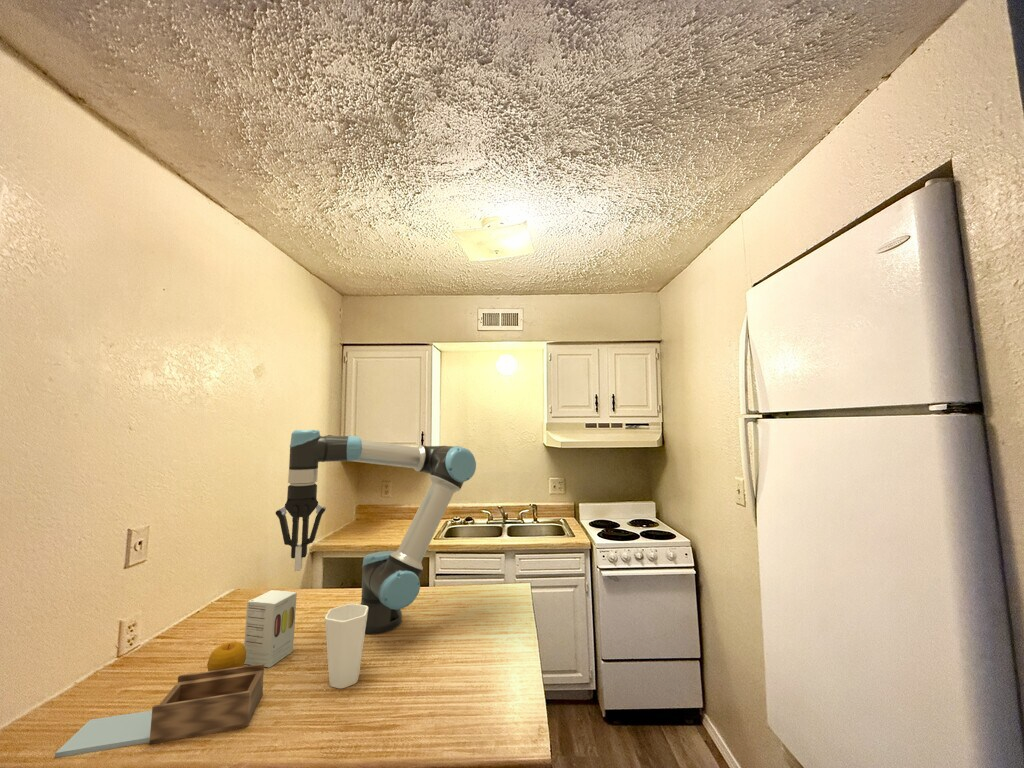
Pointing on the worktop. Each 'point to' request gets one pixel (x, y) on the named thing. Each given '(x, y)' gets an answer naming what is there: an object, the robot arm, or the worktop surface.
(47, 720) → the worktop surface
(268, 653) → the supplement box
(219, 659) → the apple
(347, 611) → the cup
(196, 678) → the box
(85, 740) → the cover plate
